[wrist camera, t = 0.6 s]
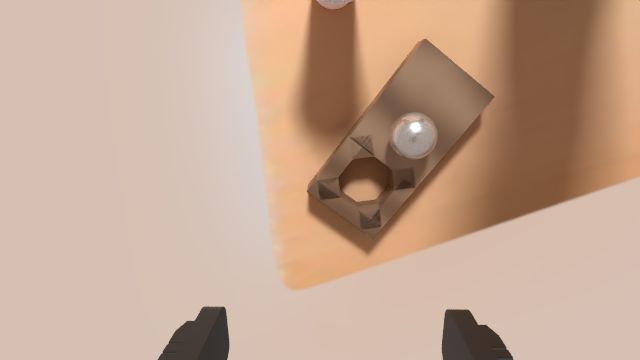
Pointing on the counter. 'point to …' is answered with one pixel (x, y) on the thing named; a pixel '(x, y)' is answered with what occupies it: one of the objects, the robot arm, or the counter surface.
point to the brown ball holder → (374, 127)
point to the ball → (413, 135)
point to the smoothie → (333, 3)
